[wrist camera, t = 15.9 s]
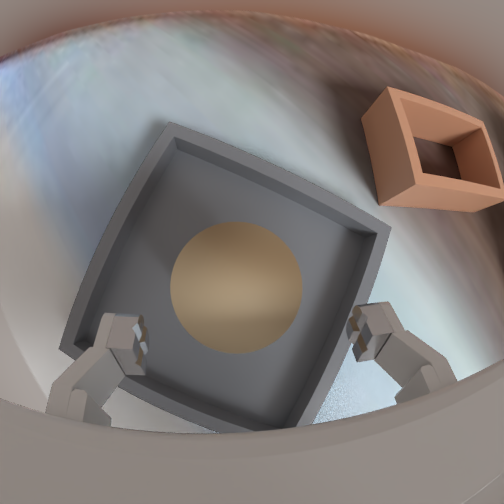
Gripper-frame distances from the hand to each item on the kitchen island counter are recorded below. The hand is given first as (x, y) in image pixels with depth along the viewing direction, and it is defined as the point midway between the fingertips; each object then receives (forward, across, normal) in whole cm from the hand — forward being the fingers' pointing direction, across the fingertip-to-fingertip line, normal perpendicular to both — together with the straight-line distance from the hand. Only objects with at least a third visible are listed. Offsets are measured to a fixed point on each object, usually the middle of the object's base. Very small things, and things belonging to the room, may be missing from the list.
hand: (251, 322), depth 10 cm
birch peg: (+7, +1, +5) cm, 9 cm away
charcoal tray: (+8, +1, +6) cm, 10 cm away
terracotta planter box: (+16, -19, -2) cm, 25 cm away
